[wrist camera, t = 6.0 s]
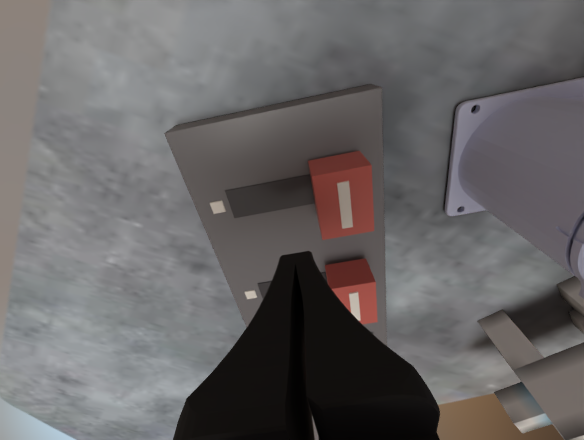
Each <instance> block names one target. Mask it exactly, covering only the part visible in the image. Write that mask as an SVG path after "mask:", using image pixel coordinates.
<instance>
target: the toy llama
mask: <svg viewBox="0 0 584 440" xmlns="http://www.w3.org/2000/svg"><path fill="white" fill-rule="evenodd" d="M557 287H558V289H559V291H560V294H561V296H562V298H563V300H565V301H566V302H567V303H568V304H569V305H570V306H572V307H573V308H574V309H575V310H572V311H570V312H569V315H570V317H571V319H572V321H573V324H574V325H575V326H576V327H577V328H578V329H579V330H580V331H581V332H583V333H584V299H583V298H582V297H581V296H579V292H580V289H581V282H580V280H579V279H578V278H577V277H576V276H574V277H572V278H570V279H568V280H565V281H563V282H561V283H559V284H557ZM478 323H479V324H480V325H481V327H482V328H483V330H484V331H485V332H486V334H487V335H488V336H489V338H490V339H491V341H492V342H493V343H494V345H495V346H496V348H497V349H498V350H499V352H500V353H501V355H502V356H503V357H504V359H505V360H506V361H507V363H508V364H509V366H510V367H511V368H512V370H513V371H514V372H515V374H516V375H517V376H518V378H519V379H520V380H521V382H520V383H517V384H515V385H512V386H509V387H507V388H504V389H501V390H499V391H496V392H494V393H495V395H496V396H497V398H498V399H499V401H500V403H501V404H502V406H503V407H504V409H505V410H506V412H507V414H508V415H509V416H510V418H511V420H512V421H513V423H514V424H515V425H516V427H517V428H518V429H519V430H520V431H521V432H522V433H525V432H528V431H531V430H534V429H537V428H541V427H544V426H547V425H550V424H553V425H554V426H555V428H556V429H557V431H558V432H559V433H560V435H561V436H562V437H563V439H564V440H584V343H581V344H579V345H576V346H573V347H571V348H568V349H566V350H563V351H561V352H558V353H555V354H553V355H550V356H548V357H545V358H544V357H543V356H542V355H541V353H540V352H539V351H538V350H537V349H536V348H535V347H534V345H533V344H532V343H531V342H530V341H529V340H528V339H527V337H526V336H525V335H524V334H523V333H522V332H521V331H520V329H519V328H518V327H517V326H516V325H515V324H514V322H513V321H512V320H511V319H510V318H509V317H508V316H507V314H506V313H505V312H504V311H503V310H500V311H498V312H496V313H494V314H492V315H489V316H487V317H485V318H483V319H481V320H479V321H478Z"/></svg>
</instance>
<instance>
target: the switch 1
mask: <svg viewBox="0 0 584 440" xmlns="http://www.w3.org/2000/svg"><path fill="white" fill-rule="evenodd" d="M308 164H309V170H310V176H311V182H312V188H313V194H314V200H315V206H316V212H317V218H318V223H319V227H320V232H321V236H322V240H326V239H332V238H337V237H343V236H349V235H354V234H360V233H366V232H371V231H374V210H373V186H372V165H371V164H370V162H369V161H368V160H367V159H366V158H365V156H364V155H363V154H362V153H361V152H360V151H355V152H350V153H345V154H340V155H335V156H330V157H325V158H320V159H314V160H309V161H308Z"/></svg>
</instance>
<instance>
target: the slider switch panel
mask: <svg viewBox="0 0 584 440" xmlns="http://www.w3.org/2000/svg"><path fill="white" fill-rule="evenodd" d="M164 134H165V136H166V139H167V141H168V143H169V146H170V148H171V150H172V153H173V155H174V157H175V160H176V162H177V164H178V167H179V169H180V171H181V174H182V176H183V179H184V181H185V183H186V186H187V188H188V190H189V193H190V195H191V197H192V200H193V202H194V204H195V207H196V209H197V211H198V214H199V216H200V218H201V221H202V223H203V226H204V228H205V230H206V233H207V235H208V237H209V240H210V242H211V244H212V247H213V249H214V251H215V254H216V256H217V258H218V261H219V263H220V266H221V268H222V270H223V273H224V275H225V277H226V280H227V282H228V284H229V287H230V289H231V291H232V294H233V296H234V298H235V301H236V303H237V305H238V308H239V310H240V313H241V315H242V317H243V320H244V322H245V324H246V327H248V325H249V323H250V322H251V320H252V319H253V317H254V315H255V314H256V312H257V310H258V308H259V306H260V304H261V302H262V300H263V299H264V297H265V295H266V293H267V290H268V288H269V286H270V284H271V281H272V279H273V276H274V274H275V271H276V268H277V265H278V262H279V258H280V257H281V256H282V255H287V254H293V253H299V252H305V251H310V252H312V255H313V258H314V261H315V263H316V265H317V267H318V269H319V271H320V272H321V274H322V276H323V277H324V279H325V280H326V282H327V276H326V270H325V265H329V264H335V263H341V262H347V261H353V260H359V259H365V258H366V260H367V262H368V265H369V267H370V269H371V272H372V274H373V276H374V279H375V281H376V299H377V321H378V322H375V323H368V324H362V325H364V326H365V327H366V328H367V329H368V330H369V331H370V332H371V333H372V334H373V335H374V336H375V337H377V338H378V339H379V340H380V341H381V342H382V343H384V344H385V345H386V346H387V330H386V278H385V226H384V175H383V123H382V87H379V86H375V85H372V84H369V85H365V86H360V87H355V88H350V89H346V90H341V91H336V92H331V93H327V94H322V95H317V96H313V97H308V98H303V99H298V100H294V101H289V102H284V103H280V104H275V105H270V106H265V107H261V108H256V109H251V110H247V111H242V112H237V113H232V114H228V115H223V116H218V117H214V118H209V119H204V120H199V121H195V122H190V123H185V124H181V125H176V126H175V127H173V128H172V129H170V130H169V131H167V132H166V133H164ZM355 151H360V152H361V153H362V154H363V155H364V156H365V158H366V159H367V160H368V161H369V162H370V164H371V165H372V186H373V210H374V231H371V232H366V233H360V234H354V235H349V236H343V237H337V238H332V239H326V240H322V236H321V232H320V227H319V223H318V218H317V212H316V206H315V200H314V194H313V188H312V182H311V176H310V170H309V164H308V161H309V160H314V159H320V158H325V157H330V156H335V155H340V154H345V153H350V152H355ZM327 283H328V282H327Z"/></svg>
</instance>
